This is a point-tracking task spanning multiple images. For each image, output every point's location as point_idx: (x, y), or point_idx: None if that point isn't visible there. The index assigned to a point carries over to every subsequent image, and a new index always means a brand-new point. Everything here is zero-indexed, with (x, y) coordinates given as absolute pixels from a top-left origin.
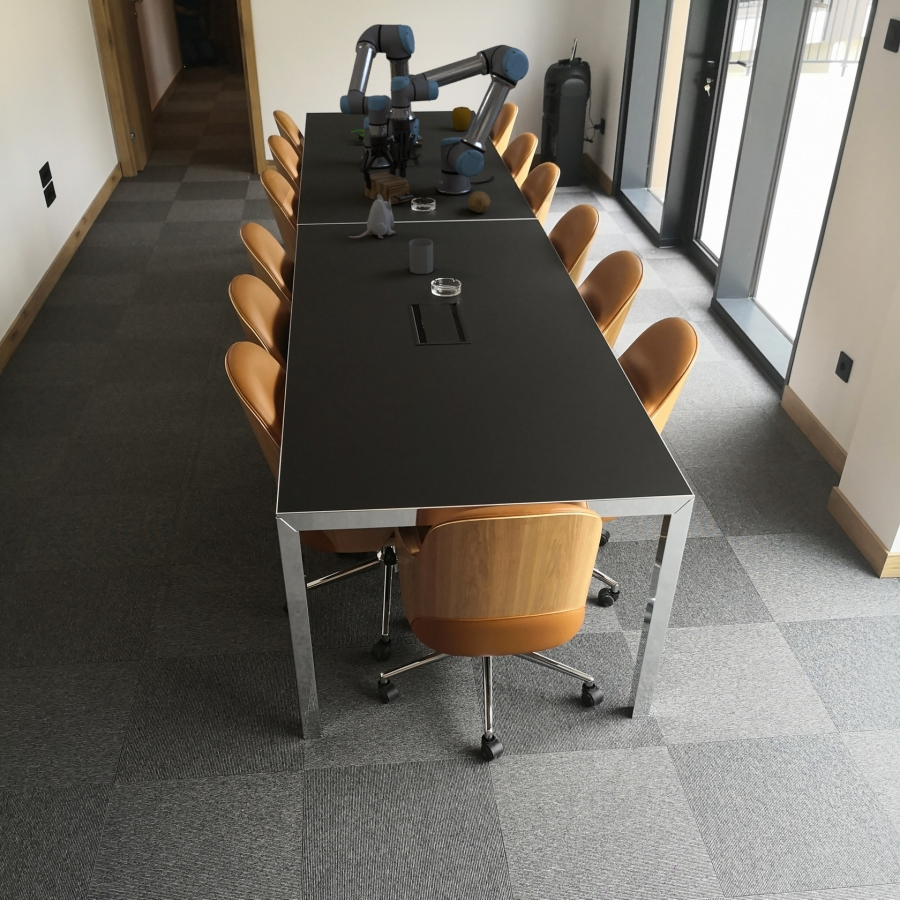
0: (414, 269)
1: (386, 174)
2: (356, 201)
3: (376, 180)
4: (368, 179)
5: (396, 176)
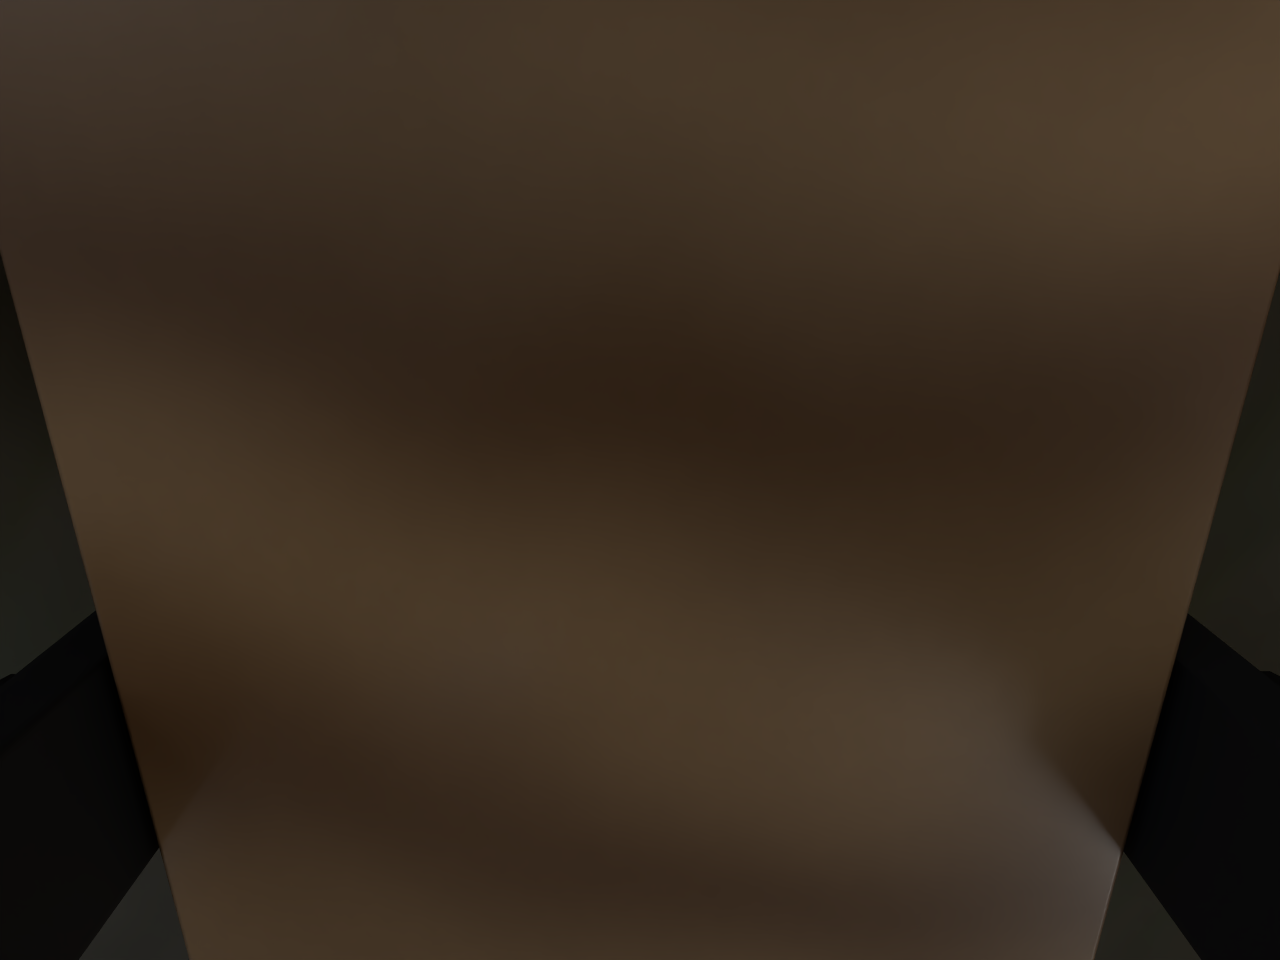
0: None
1: (333, 785)
2: (1248, 460)
3: (1234, 272)
4: (1244, 673)
5: (45, 304)
